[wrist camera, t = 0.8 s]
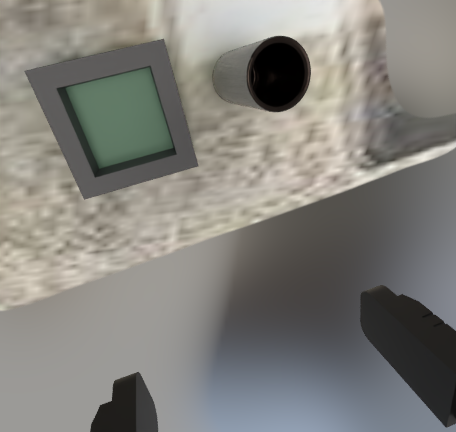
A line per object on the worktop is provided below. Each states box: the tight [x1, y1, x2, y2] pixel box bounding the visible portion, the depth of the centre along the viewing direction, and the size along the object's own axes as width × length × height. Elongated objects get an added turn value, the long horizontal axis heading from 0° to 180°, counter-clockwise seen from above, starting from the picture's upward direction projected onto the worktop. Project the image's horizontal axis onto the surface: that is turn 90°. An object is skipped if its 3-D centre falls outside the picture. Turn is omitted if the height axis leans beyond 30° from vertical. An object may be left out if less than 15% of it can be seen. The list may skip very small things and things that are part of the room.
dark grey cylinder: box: [213, 36, 311, 112], centre depth 25 cm, size 4×4×10 cm
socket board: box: [25, 39, 198, 199], centre depth 26 cm, size 10×10×4 cm
